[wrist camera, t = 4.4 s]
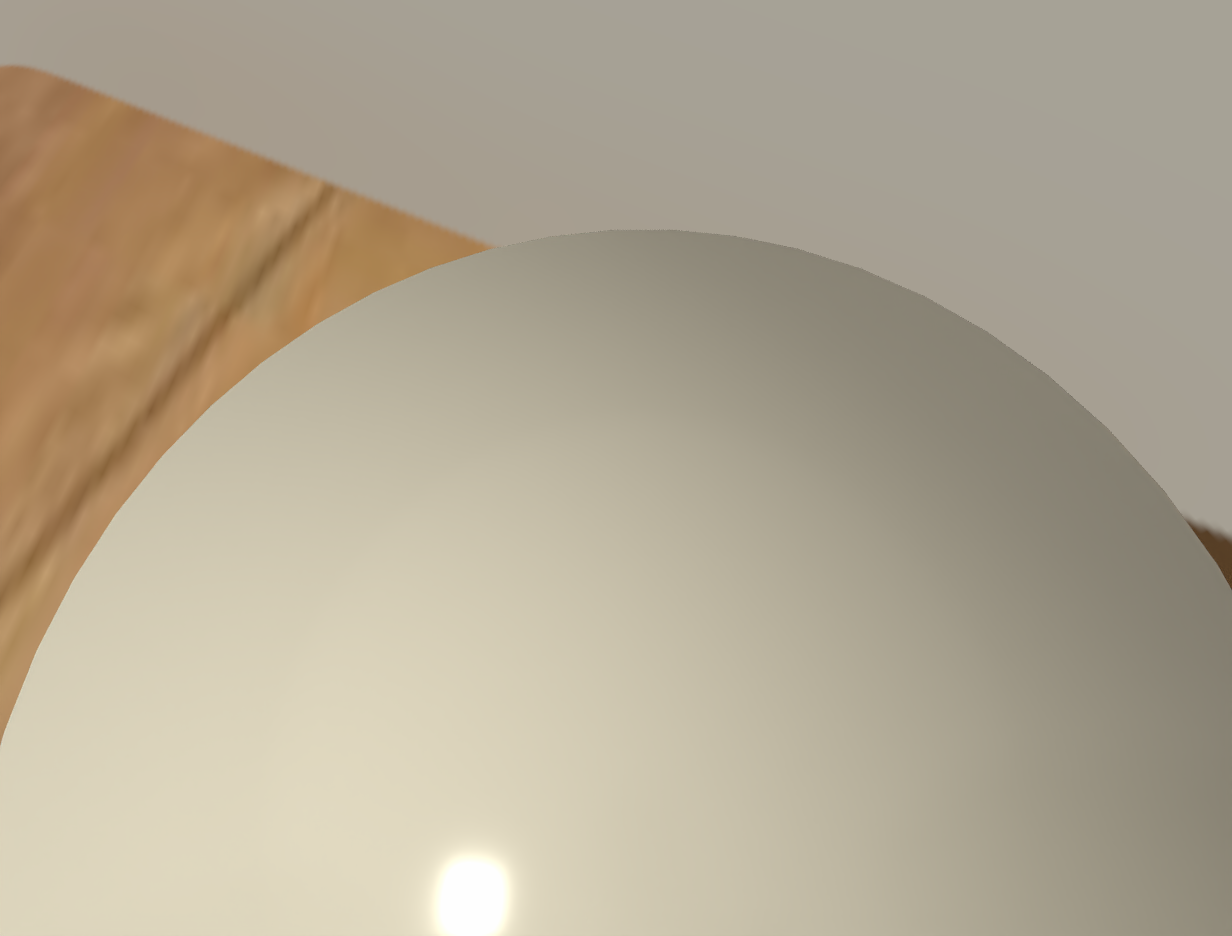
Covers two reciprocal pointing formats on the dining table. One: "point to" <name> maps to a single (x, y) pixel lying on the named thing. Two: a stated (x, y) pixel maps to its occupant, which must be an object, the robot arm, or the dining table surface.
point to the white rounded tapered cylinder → (633, 632)
